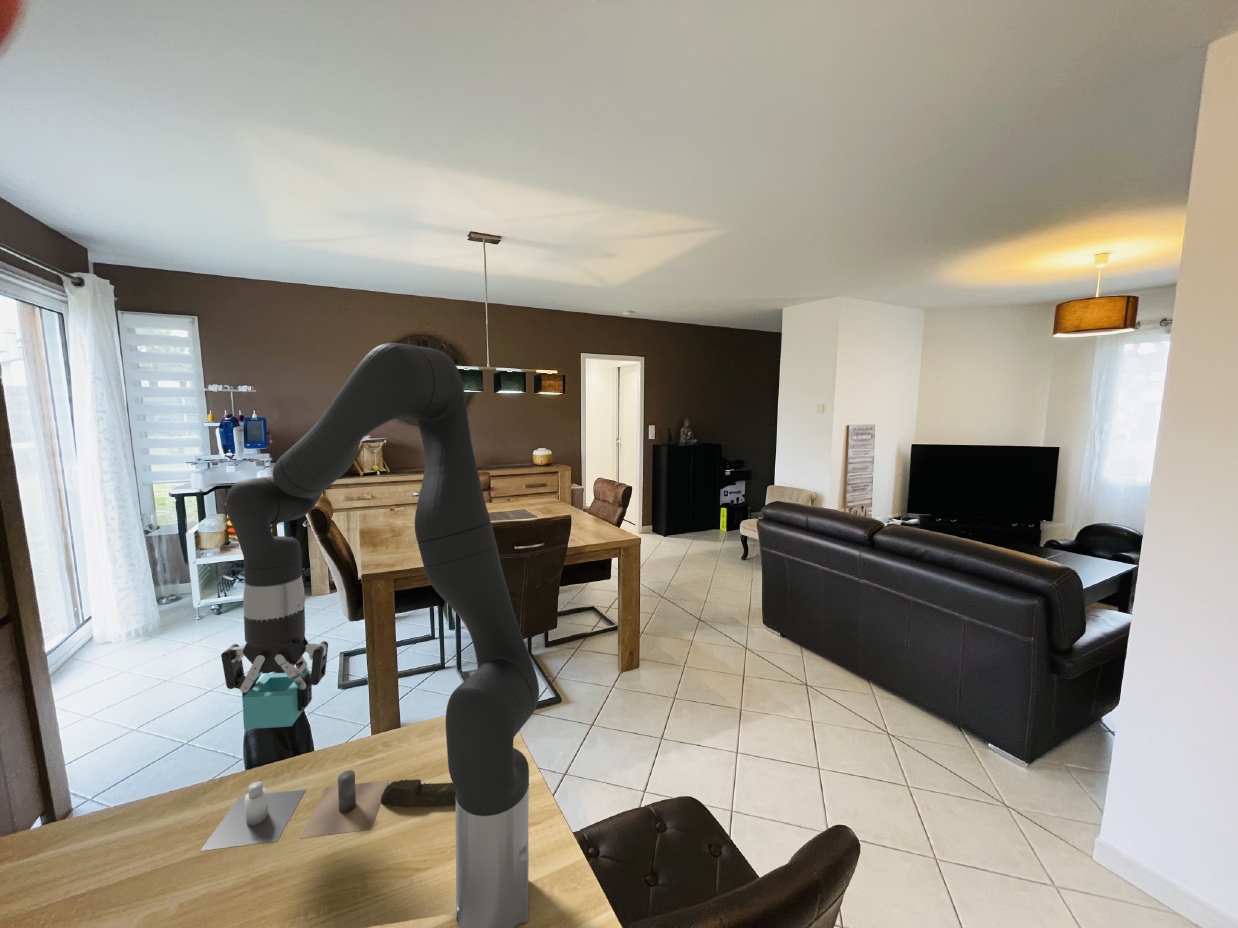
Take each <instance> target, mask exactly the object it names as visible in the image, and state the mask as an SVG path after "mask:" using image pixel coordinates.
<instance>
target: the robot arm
mask: <svg viewBox="0 0 1238 928" xmlns="http://www.w3.org/2000/svg"><path fill="white" fill-rule="evenodd" d="M395 419H396V420H402V421H404V420H406V421H407V420H408V421H409V420H416V423H417V426H418V431H419V433H420V438H421V442H422V446H423V453H424V474H423V478H422V482H421V486H420V491H419V495H418V499H417V504H416V508H415V516H414V532H415V539H416V541H417V546H418V550H419V553H420V557H421V561H422V565H423V570H424V572H425V575H426V578H427V580H428V582H429V583H430V585H431V587H432V588H433V589H434V591H435V592H436V593H437V594H438V595H439V596H440V597H441V598H442V600H443V601H445V602H446V604H447V605H449V607H450V608H451V609H452V610H453V611H454V612H455V613H456V614H457V615H458V616H459V617H460V618H461V620H462V621H463V623H464V624H465V626H466V628H467V630H468V632H469V635H470V638H471V641H472V645H473V648H474V652H475V658H476V664H477V665H476V666H477V670H475V672H473V673H472V674H471V675H470V676H469V677H467V678H466V679H465V680H464V681H463V682H462V683H461V684H460V685H459V686H458V687H456V688H455V689H454V690H453V692H452V693H451V695H450V697H449V698H448V703H447V706H446V710H445V736H446V739H445V740H446V751H447V752H446V753H447V764H448V766H447V767H448V773H449V775H450V779H451V781H452V782H451V783H453V784H454V786H455V790H456V806H455V887H456V889H455V890H456V892H455V894H456V895H455V896H456V897H455V907H456V909H455V910H456V920H457V921H456V922H457V925H458V927H459V928H516V927H517V926H518V925H521V924H525V923H527V922H528V921H529V860H530V859H529V856H530V855H529V848H530V847H529V799H530V798H529V796H530V795H529V793H530V791H529V790H530V767H529V763H528V760H527V758H526V756H525V754H524V753H522V751H520V750H519V749H517V748H515V747H514V739H515V737H516V735H517V734H518V733H519V732H520V731H521V729H522V728H523V727H524V725H526V723H527V722H528V721H529V719H530V718H531V716H532V715H533V714H534V712H535V711H536V708H537V706H538V704H539V698H540V687H539V679H538V677H537V672H536V670H535V667H534V664H533V662H532V659H531V656H530V653H529V651H528V650H529V649H528V648H527V645H526V643H525V640H524V637H523V634H522V632H521V629H520V626H519V623H518V620H517V618H516V615H515V611H514V607H513V604H512V599H511V596H510V593H509V589H508V586H507V582H506V577H505V575H504V570H503V567H502V563H501V559H500V552H499V548H498V545H497V541H496V536H495V534H494V529H493V526H492V522H491V521H492V520H491V517H490V514H489V511H488V508H487V503H486V501H485V496H484V492H483V487H482V483H481V479H480V475H479V470H478V467H477V462H476V458H475V453H474V448H473V442H472V436H471V431H470V430H471V429H470V423H469V418H468V409H467V404H466V396H465V389H464V385H463V381H462V376H461V374H460V371H459V368H458V366H457V365H456V364H455V361H454V360H453V359H452V358H451V357H450V356H449V355H448V354H447V353H445V352H443V351H441V350H439V349H435V348H431V347H426V346H419V345H415V344H414V345H412V344H407V343H401V342H400V343H398V342H387V343H383V344H380V345H378V346H376V347H374V348H372V350H370V351H369V352H368V353H367V354H366V355H365V356H364V357H363V359H362V360H361V361H360V362H359V364H358V365H357V366H356V367H355V369H354V370H353V371H352V373H351V374H350V376H349V377H348V379H347V381H346V382H344V385H343V386H342V387H341V389H339V391H338V393H337V394H336V396H335V397H334V399H332V401H331V403H330V404H329V406H328V407H327V408H326V409H325V411H324V413H323V414H322V416H321V417H320V418H319V419H318V421H317V422H316V423H315V424H314V425H313V426H312V428H311V429H309V431H308V432H306V433H305V434H304V435H303V436H302V437H301V438H300V439H298V441H296V442H295V444H293V445H292V446H291V447H290V448H289V449H288V450H286V452H284V453H283V454H282V455H281V456H279V458H278V459H277V461H276V462H275V464H274V466H273V469H272V476H263V477H254V478H246V479H243V480H240V481H237V482H235V483H234V484H233V485H232V486H231V488H230V489H229V490H228V492H227V494H226V497H225V504H224V505H225V511H226V514H227V517H228V520H229V521H230V524H231V526H232V528H233V531H234V533H235V536H236V538H237V542H238V544H239V547H240V550H241V553H242V556H243V569H244V572H243V573H244V574H243V575H244V588H243V589H244V590H243V595H242V597H243V598H242V599H243V600H242V601H243V604H242V605H243V625H244V641H245V644H244V645H239V644H237V643H233V644H232V645H230V646H229V647H228V648H227V649H226V650H225V651H223V652H222V653H221V654H220V656H221V662H222V668H223V675H224V679H225V686H226V688H227V689H228V690H233V689H239V690H240V692H241V693H242V695H241V697H242V699H241V700H242V701H243V697H244V696H245V695H246V694H247V693H248V692H249V691H250V690H251V689H252V688H253V686H254V685H255V684H256V683H257V682H258V681H259V680H260V679H261V675H262V674H263V675H265V674H272V673H286V675H287V676H288V678H289V679H292V680H293V681H294V682H295V684H296V685H297V687H298V688H299V689H298V690H297V698H298V711H302V712H303V711H305V709H306V708H308V706H309V704H311V702H312V700H313V696H312V695H313V694H312V693H313V689H312V686H317V685H318V684H319V683H320V682H321V680H322V679H323V678H324V677H325V675H326V669H327V662H328V661H327V660H328V650H329V642H327V641H325V640H324V641H321V642H320V643H309V641H308V640H307V638H306V614H305V613H306V611H305V609H306V607H305V606H306V596H305V586H304V581H303V576H302V574H303V573H302V572H303V571H302V570H303V567H302V563H303V562H302V547H301V544H300V542H299V540H298V539H296V538H295V537H291V536H281V535H280V536H279V535H278V536H273V534H272V533H271V531H270V526H271V525H275V524H276V525H277V524H280V523H286V522H290V521H294V520H297V519H300V518H302V517H304V516H306V515H307V514H309V513H310V512H311V511H313V510H314V509H315V507H316V505H317V503H318V501H319V500H320V499H321V496H322V494H323V492H324V491H325V489H328V487H330V486H331V485H332V484H334V482H336V481H337V480H338V479H339V478H341V477H342V476H344V474H345V473H346V472H347V471H349V469H350V468H351V467H352V465H353V464H354V462H355V461H356V458H357V457H358V454H359V453H358V452H359V450H360V444H361V441H362V440H363V438H364V437H366V436H367V435H368V434H369V433H371V432H373V431H374V430H375V429H377V428H379V427H381V426H382V425H384V424H386V423H388V422H390V421H392V420H395ZM305 653H307V654H308V657H309V660H311V669H309V667H308V662H307V661H306V660H305V658H304V656H303V655H304V654H305ZM244 657H245V658H246V659H247V660H248V662H249V663H251V664H252V665H251V666H250V667H249V670H248V671H247V674H246V675H245V670H244V664H243V658H244ZM310 670H311V671H310Z"/></svg>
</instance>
